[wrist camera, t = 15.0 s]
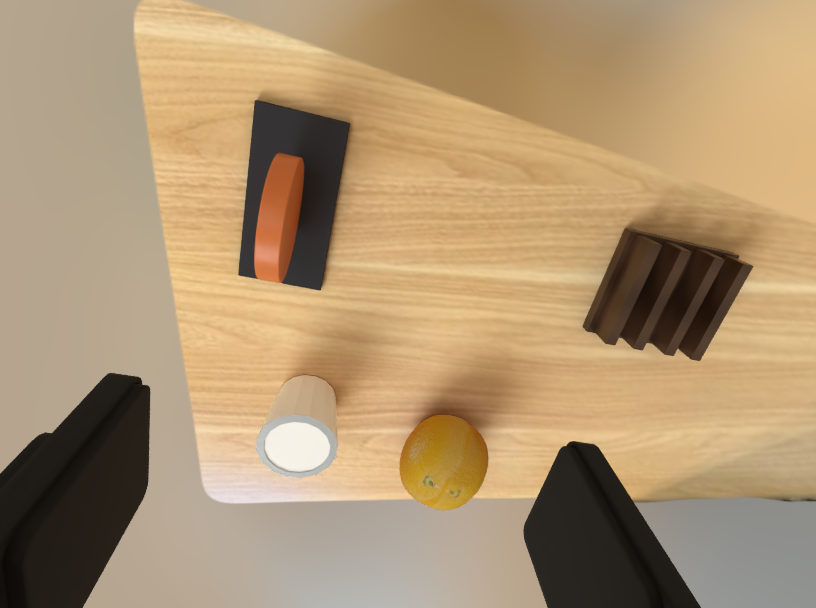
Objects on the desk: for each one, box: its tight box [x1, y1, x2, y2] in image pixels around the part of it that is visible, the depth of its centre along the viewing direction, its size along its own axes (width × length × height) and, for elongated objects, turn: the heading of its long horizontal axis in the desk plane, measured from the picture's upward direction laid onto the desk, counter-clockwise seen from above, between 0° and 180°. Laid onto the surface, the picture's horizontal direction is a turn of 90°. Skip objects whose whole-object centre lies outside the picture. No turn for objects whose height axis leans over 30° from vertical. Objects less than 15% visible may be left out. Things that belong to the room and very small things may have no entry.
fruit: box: [400, 415, 488, 510], centre depth 45 cm, size 9×8×8 cm
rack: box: [583, 228, 753, 361], centre depth 42 cm, size 10×11×4 cm
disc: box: [254, 153, 304, 283], centre depth 33 cm, size 9×2×9 cm, turn 167°
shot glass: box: [256, 375, 338, 478], centre depth 43 cm, size 7×7×7 cm
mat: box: [238, 100, 350, 290], centre depth 37 cm, size 14×7×1 cm, turn 167°
